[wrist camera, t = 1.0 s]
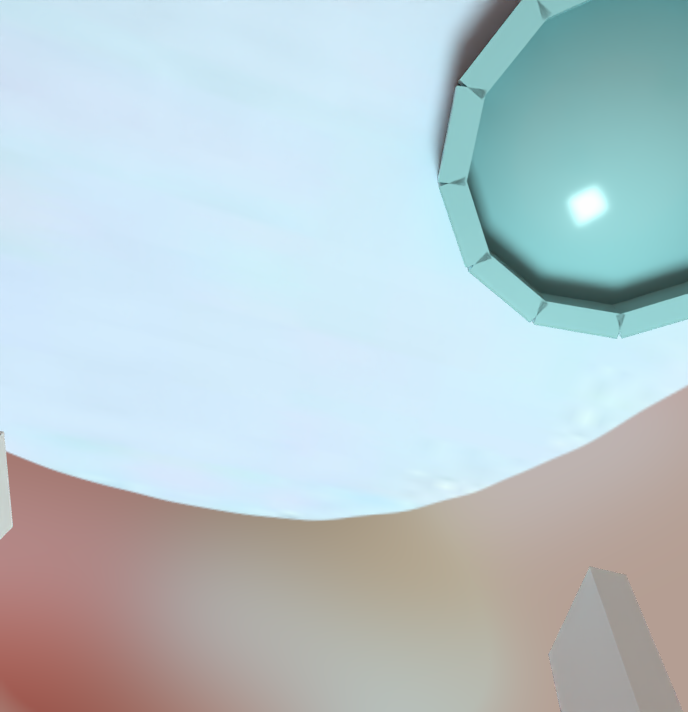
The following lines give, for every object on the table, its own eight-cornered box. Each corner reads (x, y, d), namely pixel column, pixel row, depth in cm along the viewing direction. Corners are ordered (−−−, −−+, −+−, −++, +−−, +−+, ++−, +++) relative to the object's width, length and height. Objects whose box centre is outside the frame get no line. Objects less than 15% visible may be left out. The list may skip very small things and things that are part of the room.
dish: (485, -68, 29) (490, -84, 26) (882, -19, 27) (924, -31, 25) (415, 291, 36) (414, 303, 34) (722, 344, 35) (742, 360, 33)
